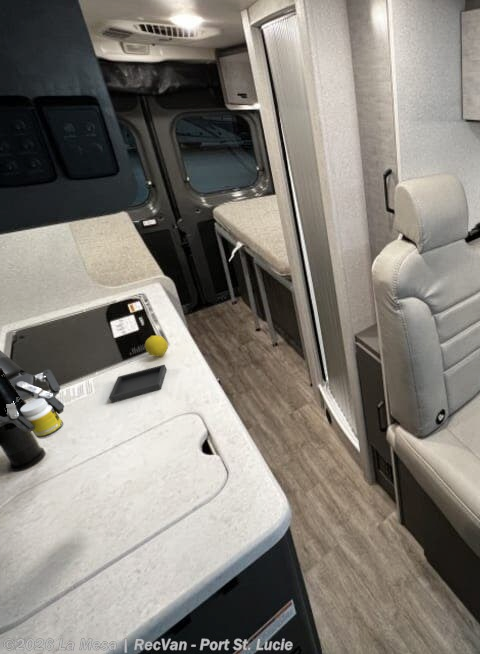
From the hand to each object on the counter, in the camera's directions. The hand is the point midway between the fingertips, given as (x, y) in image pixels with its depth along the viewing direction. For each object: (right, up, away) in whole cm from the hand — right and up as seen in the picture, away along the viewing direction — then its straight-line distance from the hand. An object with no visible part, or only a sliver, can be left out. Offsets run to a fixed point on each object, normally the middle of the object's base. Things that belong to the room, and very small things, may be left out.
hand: (47, 420), depth 88 cm
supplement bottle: (-2, -4, +3) cm, 5 cm away
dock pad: (0, 0, +26) cm, 26 cm away
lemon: (-3, +6, +38) cm, 38 cm away
